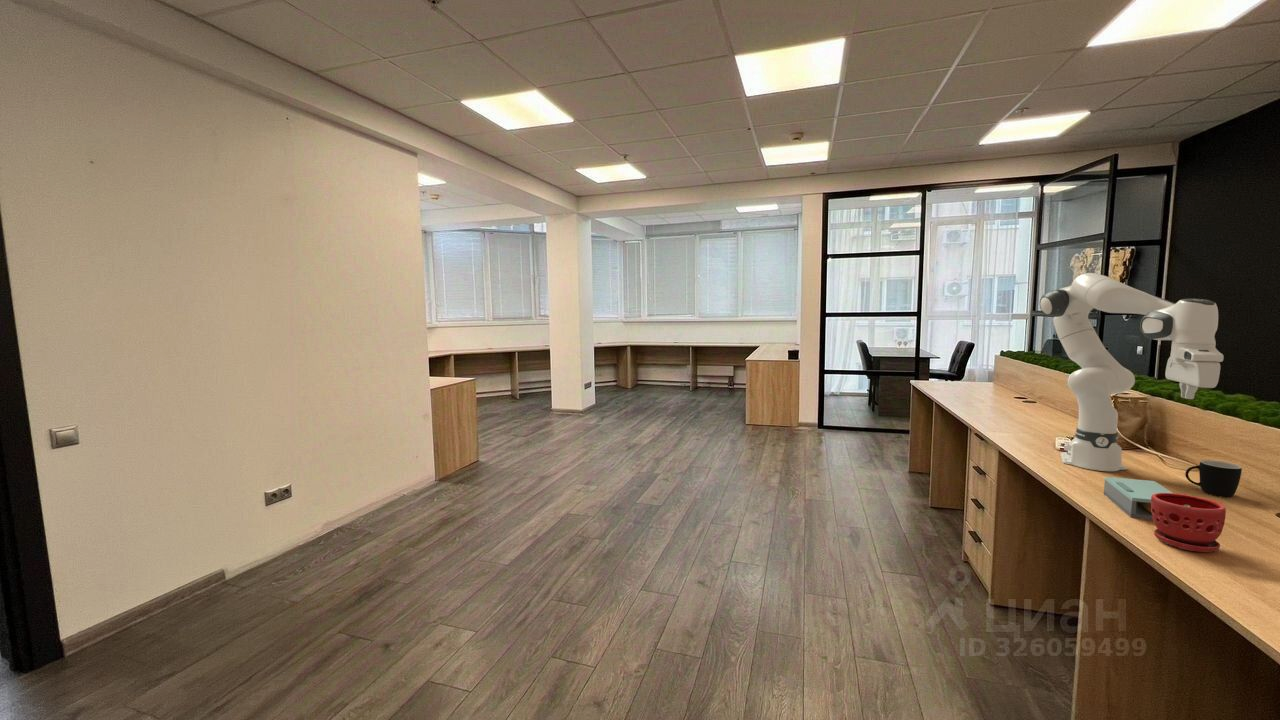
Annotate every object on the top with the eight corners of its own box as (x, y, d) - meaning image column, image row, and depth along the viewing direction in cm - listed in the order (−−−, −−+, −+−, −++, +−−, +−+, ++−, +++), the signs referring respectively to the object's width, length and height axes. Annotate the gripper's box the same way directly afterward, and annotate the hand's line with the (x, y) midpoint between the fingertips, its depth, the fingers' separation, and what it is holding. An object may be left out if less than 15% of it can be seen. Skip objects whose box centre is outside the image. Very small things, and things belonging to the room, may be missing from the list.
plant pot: (1219, 544, 130) (1224, 499, 129) (1223, 561, 121) (1228, 514, 120) (1148, 528, 139) (1152, 487, 138) (1146, 543, 130) (1151, 499, 129)
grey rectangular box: (1103, 494, 164) (1104, 479, 164) (1152, 500, 159) (1153, 485, 159) (1130, 517, 147) (1132, 500, 146) (1186, 524, 141) (1188, 507, 141)
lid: (1104, 479, 164) (1105, 475, 164) (1154, 484, 159) (1154, 480, 159) (1132, 500, 146) (1132, 496, 146) (1188, 506, 141) (1188, 502, 141)
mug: (1234, 493, 164) (1238, 463, 163) (1241, 501, 157) (1245, 470, 156) (1181, 485, 172) (1184, 456, 171) (1186, 492, 165) (1189, 463, 164)
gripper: (1160, 349, 160) (1156, 392, 161) (1196, 355, 141) (1191, 403, 143) (1187, 350, 157) (1183, 393, 158) (1227, 356, 139) (1222, 405, 140)
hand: (1187, 398), depth 150 cm, fingers closed
